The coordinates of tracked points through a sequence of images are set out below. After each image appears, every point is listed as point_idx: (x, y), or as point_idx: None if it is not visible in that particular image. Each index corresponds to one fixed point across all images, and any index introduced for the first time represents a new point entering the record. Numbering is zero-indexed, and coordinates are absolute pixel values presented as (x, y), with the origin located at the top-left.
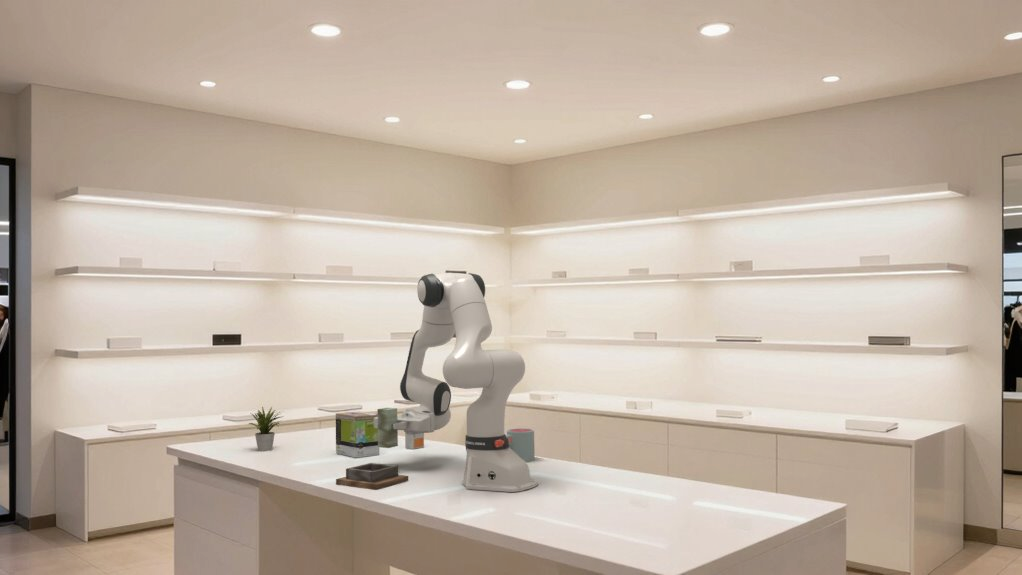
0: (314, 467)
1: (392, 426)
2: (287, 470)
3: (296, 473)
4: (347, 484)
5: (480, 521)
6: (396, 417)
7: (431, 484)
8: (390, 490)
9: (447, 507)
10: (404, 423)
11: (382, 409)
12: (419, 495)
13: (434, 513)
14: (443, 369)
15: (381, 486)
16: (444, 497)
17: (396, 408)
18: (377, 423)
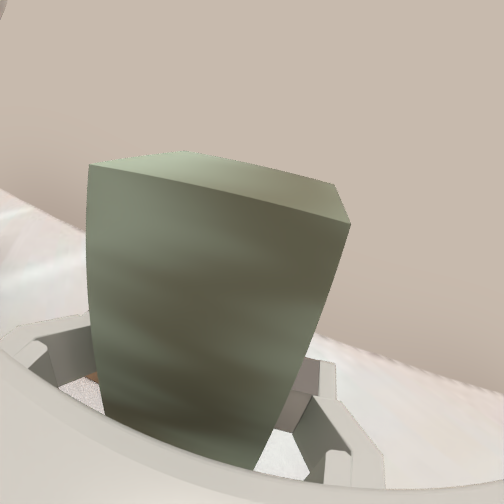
0: (492, 476)
1: None
2: (497, 422)
3: (455, 409)
4: None
5: (9, 204)
6: (99, 297)
7: (8, 324)
8: None
9: (23, 227)
10: (18, 339)
11: (259, 166)
12: (47, 264)
13: (43, 217)
14: (6, 2)
15: None
16: (12, 254)
17: (99, 164)
18: (332, 364)
